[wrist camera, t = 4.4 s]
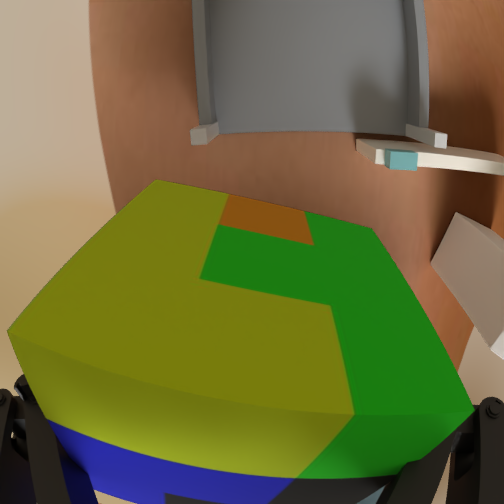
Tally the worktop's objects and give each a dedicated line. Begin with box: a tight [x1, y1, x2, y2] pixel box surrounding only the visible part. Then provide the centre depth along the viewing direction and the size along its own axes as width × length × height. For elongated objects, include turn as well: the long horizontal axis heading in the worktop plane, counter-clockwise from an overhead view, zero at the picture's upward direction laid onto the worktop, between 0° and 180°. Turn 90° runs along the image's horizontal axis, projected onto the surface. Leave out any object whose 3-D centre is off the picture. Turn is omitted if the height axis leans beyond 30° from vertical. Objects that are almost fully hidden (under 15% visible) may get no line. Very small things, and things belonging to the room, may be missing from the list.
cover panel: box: [356, 138, 504, 175], centre depth 24 cm, size 1×18×7 cm, turn 93°
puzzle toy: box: [7, 179, 475, 504], centre depth 12 cm, size 10×10×10 cm
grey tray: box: [190, 0, 447, 148], centre depth 21 cm, size 16×20×7 cm
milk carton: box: [431, 212, 504, 360], centre depth 24 cm, size 7×7×19 cm
